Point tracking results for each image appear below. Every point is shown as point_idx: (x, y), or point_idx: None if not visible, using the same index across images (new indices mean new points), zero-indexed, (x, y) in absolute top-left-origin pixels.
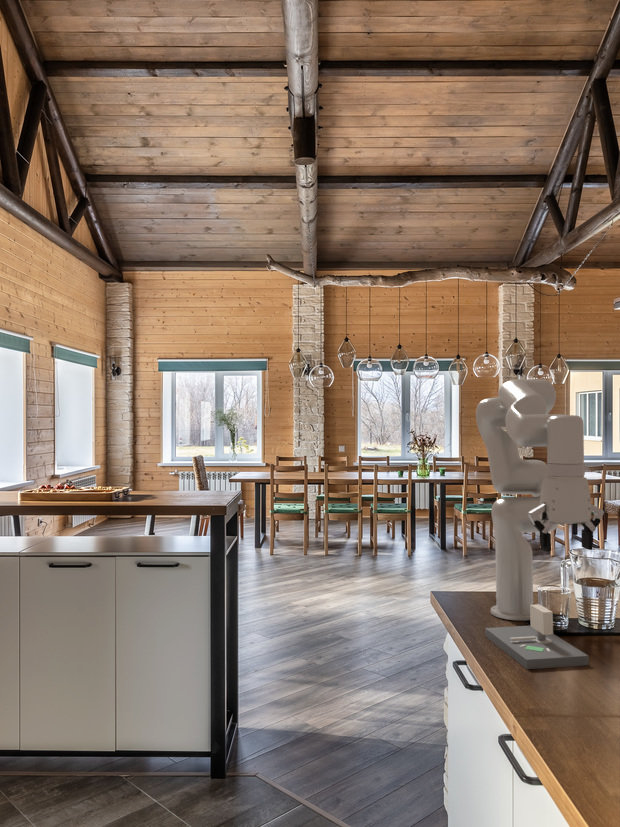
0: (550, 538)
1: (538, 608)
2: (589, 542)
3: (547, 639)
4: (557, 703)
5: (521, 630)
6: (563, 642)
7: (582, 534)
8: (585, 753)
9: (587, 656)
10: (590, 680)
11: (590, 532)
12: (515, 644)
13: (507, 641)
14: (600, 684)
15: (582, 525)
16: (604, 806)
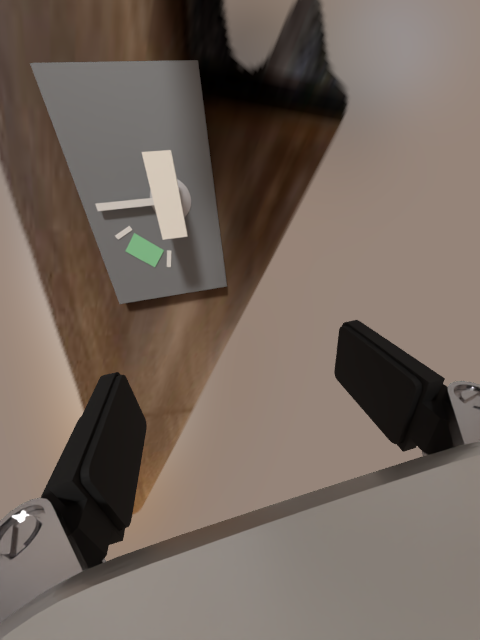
0: (132, 494)
1: (158, 198)
2: (357, 398)
3: (184, 197)
4: (143, 393)
5: (138, 110)
6: (211, 215)
7: (390, 373)
8: (144, 464)
9: (225, 286)
10: (205, 333)
11: (402, 446)
12: (109, 222)
13: (92, 200)
14: (212, 343)
15: (451, 428)
16: (137, 506)
